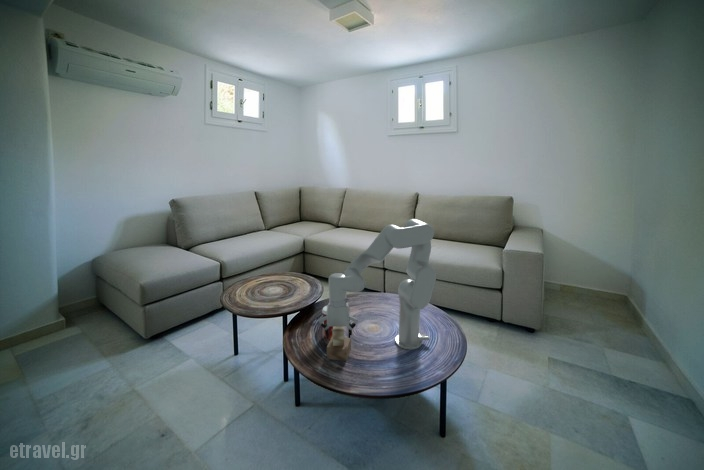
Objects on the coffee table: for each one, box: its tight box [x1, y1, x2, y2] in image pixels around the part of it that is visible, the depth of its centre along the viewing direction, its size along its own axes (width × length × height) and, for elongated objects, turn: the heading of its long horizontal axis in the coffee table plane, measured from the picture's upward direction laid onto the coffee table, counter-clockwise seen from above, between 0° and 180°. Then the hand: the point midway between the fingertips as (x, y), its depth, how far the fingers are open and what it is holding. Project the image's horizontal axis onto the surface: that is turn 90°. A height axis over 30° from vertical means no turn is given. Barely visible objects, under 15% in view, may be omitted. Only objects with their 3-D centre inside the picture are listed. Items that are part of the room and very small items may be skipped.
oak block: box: [332, 326, 346, 346], centre depth 135 cm, size 5×5×7 cm
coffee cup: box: [321, 304, 333, 339], centre depth 151 cm, size 8×8×15 cm
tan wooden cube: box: [326, 336, 352, 362], centre depth 137 cm, size 9×9×6 cm
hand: (338, 336), depth 136 cm, fingers open, 9 cm apart
